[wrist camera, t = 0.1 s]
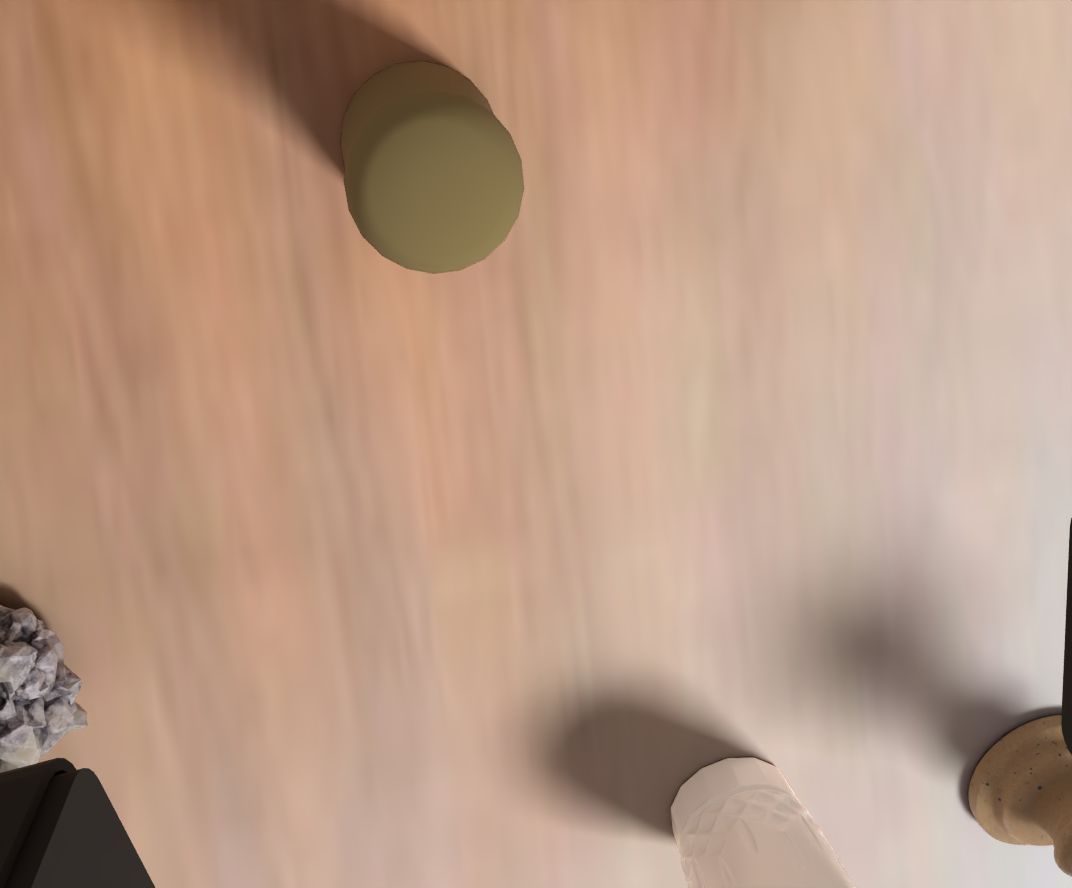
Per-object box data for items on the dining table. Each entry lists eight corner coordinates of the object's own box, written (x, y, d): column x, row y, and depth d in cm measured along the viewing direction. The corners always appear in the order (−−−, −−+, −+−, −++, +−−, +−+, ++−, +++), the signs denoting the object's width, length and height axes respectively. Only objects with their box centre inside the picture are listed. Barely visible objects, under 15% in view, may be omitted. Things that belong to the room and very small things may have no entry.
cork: (338, 55, 35) (323, 69, 25) (504, 65, 36) (553, 82, 26) (341, 223, 37) (328, 298, 27) (497, 229, 38) (539, 302, 28)
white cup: (821, 808, 54) (911, 968, 45) (701, 879, 55) (766, 1050, 46) (758, 721, 51) (842, 874, 42) (632, 798, 51) (687, 965, 42)
